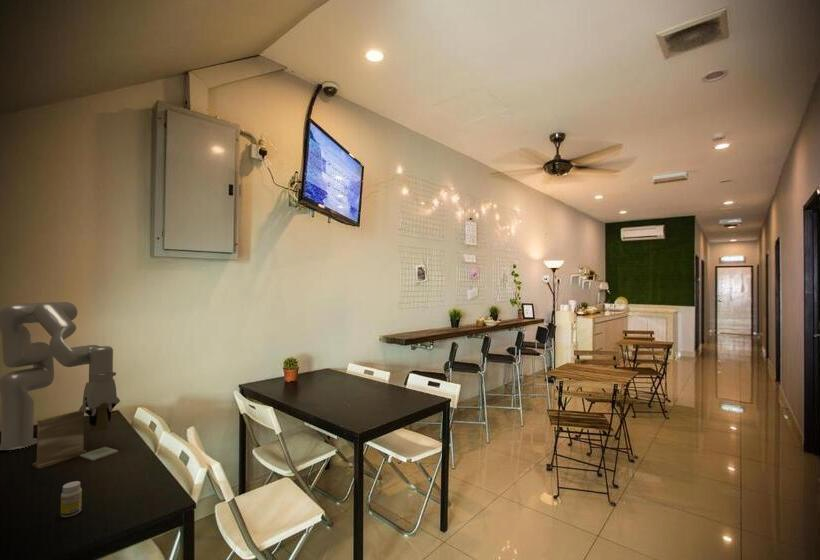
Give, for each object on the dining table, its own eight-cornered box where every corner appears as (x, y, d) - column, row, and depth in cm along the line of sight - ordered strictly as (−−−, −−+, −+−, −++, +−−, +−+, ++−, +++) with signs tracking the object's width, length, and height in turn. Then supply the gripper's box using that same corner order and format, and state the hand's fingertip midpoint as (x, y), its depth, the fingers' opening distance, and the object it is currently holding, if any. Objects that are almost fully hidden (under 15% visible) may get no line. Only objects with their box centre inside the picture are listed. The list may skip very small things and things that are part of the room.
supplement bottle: (69, 508, 117) (69, 480, 118) (85, 508, 118) (86, 479, 118) (56, 518, 113) (56, 488, 113) (73, 517, 113) (74, 488, 113)
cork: (98, 432, 153) (99, 403, 153) (86, 430, 154) (86, 402, 154) (113, 426, 159) (113, 399, 159) (101, 425, 160) (101, 398, 160)
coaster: (79, 456, 154) (79, 455, 154) (105, 448, 162) (105, 446, 162) (92, 460, 150) (92, 459, 150) (118, 451, 158) (118, 450, 158)
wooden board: (32, 466, 145) (33, 420, 146) (80, 451, 159) (81, 409, 159) (39, 468, 143) (40, 422, 144) (87, 453, 157) (88, 410, 157)
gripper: (118, 372, 166) (117, 416, 165) (70, 381, 151) (69, 428, 150) (128, 374, 163) (128, 418, 162) (81, 383, 148) (80, 431, 147)
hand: (100, 422), depth 156 cm, fingers closed on cork, 4 cm apart
